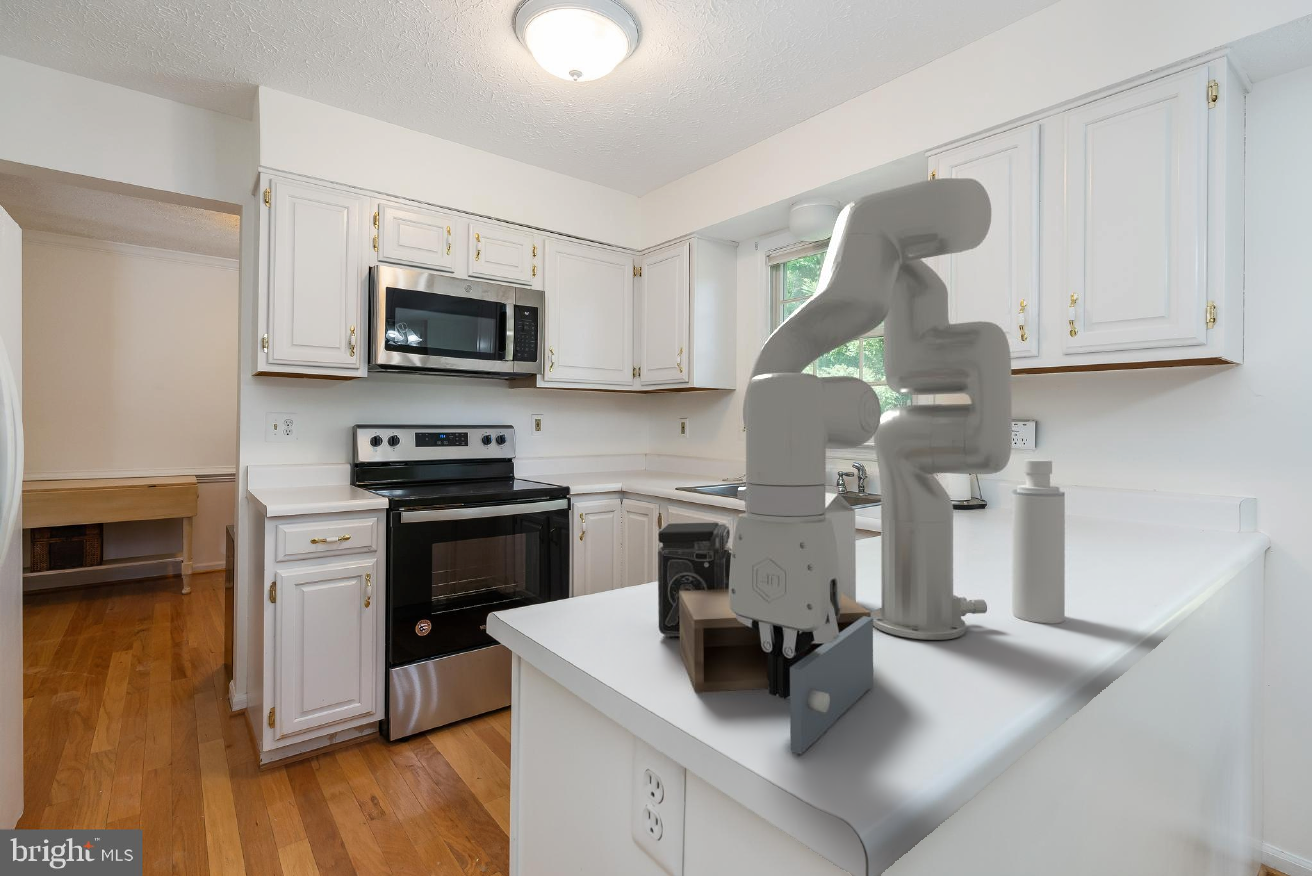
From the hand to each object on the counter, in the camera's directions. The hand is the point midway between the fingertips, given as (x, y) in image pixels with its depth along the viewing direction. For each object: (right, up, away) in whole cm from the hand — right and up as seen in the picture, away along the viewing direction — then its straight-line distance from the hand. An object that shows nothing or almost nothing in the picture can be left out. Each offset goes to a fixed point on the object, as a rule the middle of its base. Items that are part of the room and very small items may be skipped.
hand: (784, 692), depth 61 cm
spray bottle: (+45, -2, +33) cm, 56 cm away
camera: (-6, -3, +28) cm, 29 cm away
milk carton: (+16, -3, +44) cm, 46 cm away
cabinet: (+1, -3, +15) cm, 15 cm away
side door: (+6, -3, +1) cm, 7 cm away
